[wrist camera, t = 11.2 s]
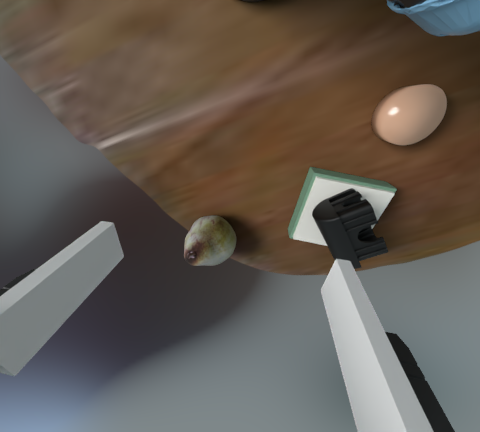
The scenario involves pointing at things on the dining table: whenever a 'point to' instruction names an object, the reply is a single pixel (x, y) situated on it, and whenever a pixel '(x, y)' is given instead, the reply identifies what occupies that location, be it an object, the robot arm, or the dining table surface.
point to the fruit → (209, 241)
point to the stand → (328, 185)
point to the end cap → (349, 227)
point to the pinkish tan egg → (409, 114)
